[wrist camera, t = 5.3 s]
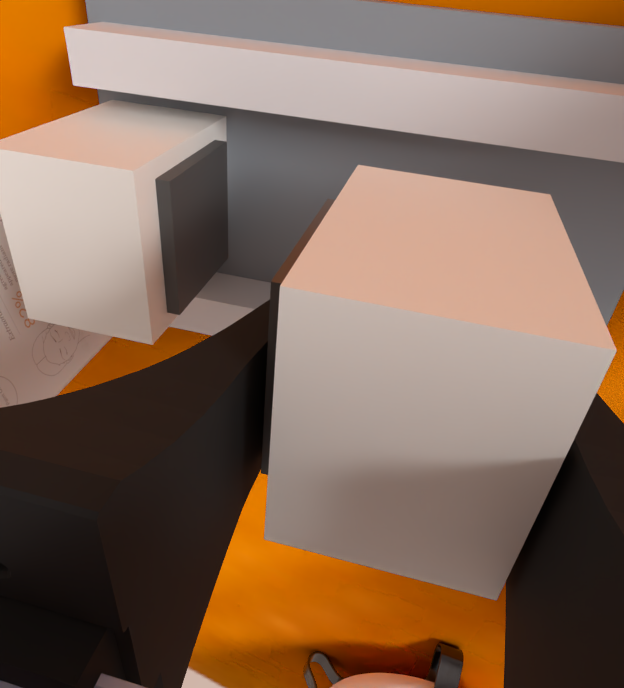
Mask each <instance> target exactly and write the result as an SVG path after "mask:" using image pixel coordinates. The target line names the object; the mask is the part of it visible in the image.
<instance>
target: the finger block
mask: <svg viewBox="0 0 624 688" xmlns="http://www.w3.org/2000/svg"><path fill="white" fill-rule="evenodd" d="M616 351H617V350H616V347H615V345H614V343H613V340H612V338H611V336H610V333H609V331H608V329H607V326H606V324H605V322H604V319H603V317H602V315H601V312H600V310H599V308H598V305H597V303H596V301H595V298H594V296H593V294H592V291H591V289H590V287H589V284H588V282H587V280H586V277H585V275H584V272H583V270H582V268H581V265H580V263H579V261H578V258H577V256H576V254H575V251H574V249H573V247H572V244H571V242H570V240H569V237H568V235H567V233H566V230H565V228H564V226H563V223H562V221H561V219H560V216H559V214H558V212H557V209H556V207H555V205H554V202H553V200H552V197H551V195H550V194H544V193H537V192H531V191H525V190H518V189H512V188H505V187H499V186H492V185H486V184H479V183H473V182H466V181H460V180H453V179H447V178H441V177H434V176H428V175H421V174H415V173H408V172H402V171H395V170H389V169H382V168H376V167H370V166H363V165H358V166H357V167H356V169H355V170H354V172H353V173H352V175H351V176H350V178H349V180H348V181H347V183H346V184H345V186H344V187H343V189H342V190H341V192H340V194H339V195H338V197H337V198H336V200H334V199H327V201H326V202H325V203H324V205H323V206H322V208H321V209H320V211H319V212H318V214H317V215H316V217H315V218H314V220H313V221H312V222H311V224H310V225H309V227H308V228H307V230H306V231H305V233H304V234H303V236H302V237H301V238H300V240H299V241H298V243H297V244H296V246H295V247H294V249H293V250H292V252H291V253H290V254H289V256H288V257H287V259H286V260H285V262H284V263H283V265H282V266H281V268H280V269H279V270H278V272H277V273H276V275H275V276H274V278H273V279H272V281H271V290H270V309H269V328H268V348H267V367H266V386H265V405H264V425H263V444H262V463H261V473H263V474H267V475H268V486H267V502H266V518H265V534H264V539H265V540H269V541H273V542H276V543H280V544H284V545H288V546H292V547H295V548H299V549H303V550H307V551H311V552H314V553H318V554H322V555H326V556H329V557H333V558H337V559H341V560H345V561H348V562H352V563H356V564H360V565H364V566H367V567H371V568H375V569H379V570H383V571H386V572H390V573H394V574H398V575H401V576H405V577H409V578H413V579H417V580H420V581H424V582H428V583H432V584H436V585H439V586H443V587H447V588H451V589H454V590H458V591H462V592H466V593H470V594H473V595H477V596H481V597H485V598H489V599H492V600H496V601H497V599H498V597H499V594H500V592H501V590H502V588H503V586H504V584H505V582H506V580H507V578H508V576H509V574H510V572H511V569H512V567H513V565H514V563H515V561H516V559H517V557H518V555H519V553H520V551H521V549H522V547H523V545H524V542H525V540H526V538H527V536H528V534H529V532H530V530H531V528H532V526H533V524H534V522H535V520H536V518H537V515H538V513H539V511H540V509H541V507H542V505H543V503H544V501H545V499H546V497H547V495H548V493H549V490H550V488H551V486H552V484H553V482H554V480H555V478H556V476H557V474H558V472H559V470H560V468H561V466H562V463H563V461H564V459H565V457H566V455H567V453H568V451H569V449H570V447H571V445H572V443H573V441H574V439H575V436H576V434H577V432H578V430H579V428H580V426H581V424H582V422H583V420H584V418H585V416H586V414H587V412H588V409H589V407H590V405H591V403H592V401H593V399H594V397H595V395H596V393H597V391H598V389H599V387H600V384H601V382H602V380H603V378H604V376H605V374H606V372H607V370H608V368H609V366H610V364H611V362H612V360H613V357H614V355H615V353H616Z"/></svg>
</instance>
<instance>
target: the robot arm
mask: <svg viewBox="0 0 624 688" xmlns="http://www.w3.org/2000/svg"><path fill="white" fill-rule="evenodd" d="M269 309H270V300H268V301H266V302H265V303H263V304H262V305H260V306H259V307H257V308H256V309H254V310H253V311H251V312H250V313H248V314H247V315H245V316H244V317H242V318H241V319H239V320H238V321H236V322H234V323H233V324H231V325H230V326H228V327H227V328H225V329H223V330H222V331H220V332H218V333H216V334H214V335H213V336H211V337H209V338H207V339H205V340H204V341H202V342H200V343H198V344H197V345H195V346H193V347H191V348H189V349H187V350H185V351H183V352H181V353H179V354H177V355H175V356H173V357H171V358H169V359H166V360H164V361H162V362H159V363H157V364H155V365H152V366H150V367H148V368H145V369H142V370H140V371H137V372H134V373H131V374H128V375H125V376H123V377H120V378H117V379H114V380H111V381H108V382H105V383H102V384H99V385H96V386H93V387H89V388H86V389H82V390H78V391H75V392H71V393H68V394H63V395H59V396H55V397H51V398H47V399H43V400H38V401H34V402H29V403H24V404H18V405H13V406H7V407H2V408H0V688H181V687H182V683H183V680H184V677H185V674H186V671H187V668H188V664H189V661H190V658H191V655H192V652H193V649H194V646H195V643H196V640H197V637H198V634H199V631H200V628H201V625H202V622H203V619H204V616H205V613H206V610H207V607H208V604H209V601H210V598H211V595H212V592H213V589H214V586H215V583H216V580H217V578H218V575H219V572H220V569H221V566H222V563H223V560H224V558H225V555H226V552H227V549H228V546H229V544H230V541H231V538H232V535H233V533H234V530H235V527H236V524H237V522H238V519H239V516H240V514H241V511H242V508H243V506H244V504H245V501H246V499H247V497H248V494H249V492H250V490H251V488H252V486H253V484H254V482H255V480H256V478H257V476H258V474H259V472H260V470H261V463H262V444H263V425H264V405H265V386H266V367H267V348H268V328H269ZM504 688H624V424H623V422H622V421H621V420H620V419H619V418H618V417H617V416H616V415H615V414H614V412H613V411H612V410H611V409H610V408H609V407H608V406H607V404H606V403H605V402H604V401H603V400H602V399H601V397H600V396H599V395H598V394H597V393H596V395H595V397H594V399H593V401H592V403H591V405H590V407H589V409H588V412H587V414H586V416H585V418H584V420H583V422H582V424H581V426H580V428H579V430H578V432H577V434H576V436H575V439H574V441H573V443H572V445H571V447H570V449H569V451H568V453H567V455H566V457H565V459H564V461H563V463H562V466H561V468H560V470H559V472H558V474H557V476H556V478H555V480H554V482H553V484H552V486H551V488H550V490H549V493H548V495H547V497H546V499H545V501H544V503H543V505H542V507H541V509H540V511H539V513H538V515H537V518H536V520H535V522H534V524H533V526H532V528H531V530H530V532H529V534H528V536H527V538H526V540H525V542H524V545H523V547H522V549H521V551H520V553H519V555H518V557H517V559H516V561H515V563H514V565H513V567H512V569H511V572H510V574H509V576H508V578H507V580H506V632H505V668H504Z"/></svg>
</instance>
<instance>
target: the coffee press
mask: <svg viewBox="0 0 624 688" xmlns="http://www.w3.org/2000/svg"><path fill="white" fill-rule="evenodd" d="M310 662H317V663H319V664H320V665H321V666H322V668H323V669H324V671H325V673H326V675H327V676H328V678H329V680H330V681H331V682H332V683H333V684H334V685H333V686H331V687H330V688H458V684H459V680H460V675H461V671H462V666H463V652H462V651H461V650H459V649H456V648H454V647H451V646H448V645H445V644H443V643H438V644H437V646H436V648H435V651H434V654H433V658H432V662H431V665H430V668H429V671H428V673H427V675H426V677H425V678H424V679H421V678H417V677H412V676H407V675H401V674H393V673H366V674H359V675H354V676H351V677H348V678H345V679H344V678H343V677H341V676H340V675H339V674H338V673H337V672H336V670H335V669H334V667H333V665H332V664H331V662H330V660H329V658H328V657H327V656H326V655H325V654H324V653H322V652H318V651H317V652H313V653H312V654H311V655H310V656H309V658H308V660H307V662H306V664H305V666H304V670H303V672H304V677H305V679H306V682H307V685H308V688H317V684H316V681H315V678H314V676H313V673H312V671H311V668H310Z"/></svg>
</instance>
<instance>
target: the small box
mask: <svg viewBox="0 0 624 688" xmlns="http://www.w3.org/2000/svg"><path fill="white" fill-rule="evenodd" d="M112 337H113V336H109V335H104V334H99V333H95V332H90V331H85V330H81V329H76V328H71V327H67V326H62V325H57V324H52V323H48V322H43V321H38V320H34V319H29V318H28V316H27V312H26V308H25V305H24V301H23V297H22V293H21V289H20V286H19V282H18V278H17V274H16V271H15V267H14V263H13V259H12V256H11V252H10V248H9V244H8V241H7V237H6V233H5V229H4V225H3V222H2V218H1V214H0V408H2V407H7V406H13V405H18V404H24V403H29V402H34V401H38V400H43V399H47V398H51V397H55V396H57V395H58V394H59V393H60V392H61V391H62V390H63V389H64V387H65V386H66V385H67V384H68V383H69V382H70V381H71V380H72V379H73V378H74V377H75V376H76V375H77V374H78V373H79V372H80V370H81V369H82V368H83V367H84V366H85V365H86V364H87V363H88V362H89V361H90V360H91V359H92V358H93V357H94V356H95V355H96V354H97V353H98V352H99V351H100V350H101V348H102V347H103V346H104V345H105V344H106V343H107V342H108V341H109V340H110V339H111V338H112Z"/></svg>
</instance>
